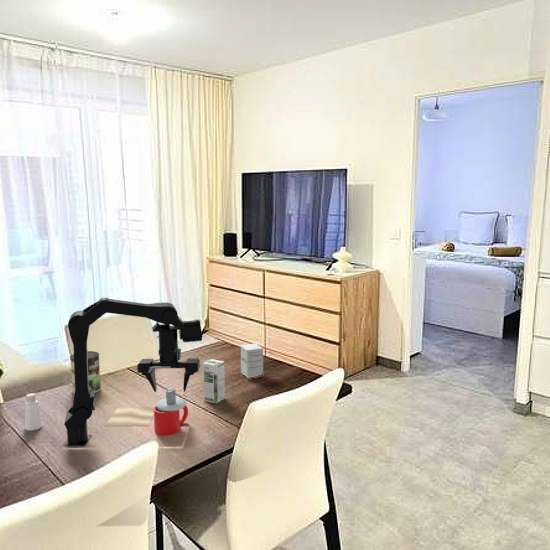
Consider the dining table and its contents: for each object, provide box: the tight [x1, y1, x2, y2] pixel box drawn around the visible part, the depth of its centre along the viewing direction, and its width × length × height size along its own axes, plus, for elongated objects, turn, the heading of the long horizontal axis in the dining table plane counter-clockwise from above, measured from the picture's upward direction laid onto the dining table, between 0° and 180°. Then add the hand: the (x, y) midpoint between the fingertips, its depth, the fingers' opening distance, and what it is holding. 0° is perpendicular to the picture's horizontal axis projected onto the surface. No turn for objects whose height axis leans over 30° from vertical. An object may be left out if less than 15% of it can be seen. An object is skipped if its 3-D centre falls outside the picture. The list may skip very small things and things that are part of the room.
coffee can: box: [69, 350, 102, 394], centre depth 183 cm, size 10×10×14 cm
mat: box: [104, 406, 155, 427], centre depth 161 cm, size 14×14×1 cm
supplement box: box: [240, 343, 264, 378], centre depth 198 cm, size 7×7×13 cm
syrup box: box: [202, 358, 226, 405], centre depth 174 cm, size 6×6×14 cm
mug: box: [153, 405, 189, 437], centre depth 153 cm, size 8×12×8 cm, turn 140°
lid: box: [156, 388, 187, 412], centre depth 152 cm, size 9×9×5 cm
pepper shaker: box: [24, 392, 43, 432], centre depth 154 cm, size 5×5×11 cm
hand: (170, 391), depth 152 cm, fingers open, 9 cm apart
